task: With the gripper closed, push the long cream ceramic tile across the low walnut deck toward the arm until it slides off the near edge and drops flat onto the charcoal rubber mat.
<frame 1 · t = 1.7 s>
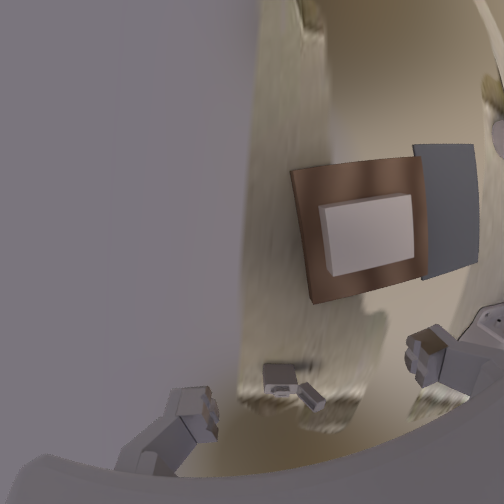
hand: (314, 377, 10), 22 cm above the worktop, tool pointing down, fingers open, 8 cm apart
tile: (365, 229, 28), point 2 cm above the worktop, touching deck
foam cup: (501, 139, 27), on the worktop
deck: (365, 225, 30), on the worktop
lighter: (288, 368, 36), on the worktop
mat: (452, 209, 30), on the worktop
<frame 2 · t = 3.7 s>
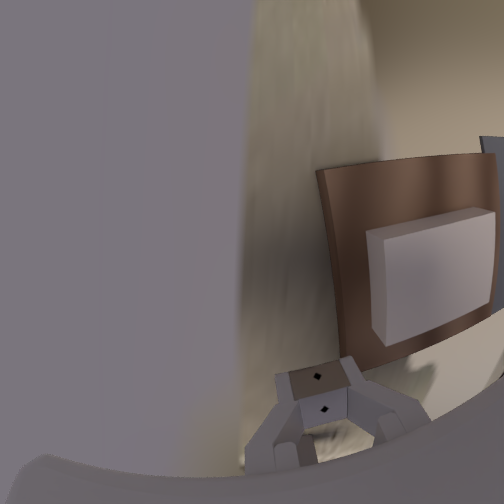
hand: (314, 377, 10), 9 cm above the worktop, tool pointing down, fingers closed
tile: (429, 265, 16), point 2 cm above the worktop, touching deck
deck: (425, 254, 18), on the worktop
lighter: (305, 438, 24), on the worktop
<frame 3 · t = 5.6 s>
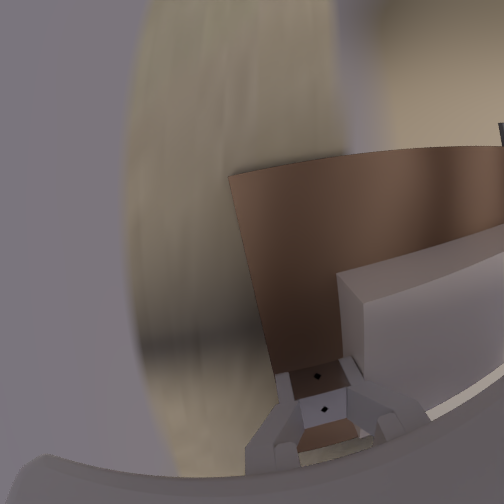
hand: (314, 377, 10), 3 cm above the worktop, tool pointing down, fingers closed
tile: (437, 315, 10), point 2 cm above the worktop, touching deck, gripper
deck: (417, 299, 12), on the worktop
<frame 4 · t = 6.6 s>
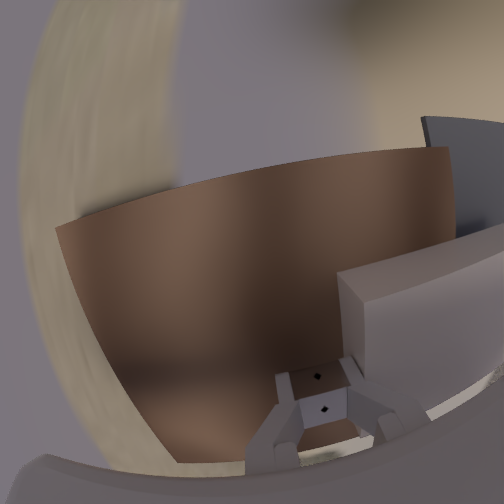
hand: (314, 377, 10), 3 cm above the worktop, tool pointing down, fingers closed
tile: (438, 314, 10), point 2 cm above the worktop, touching deck
deck: (285, 335, 12), on the worktop
mat: (496, 266, 12), on the worktop
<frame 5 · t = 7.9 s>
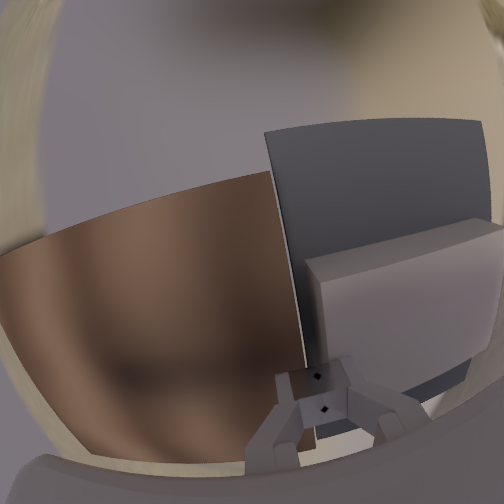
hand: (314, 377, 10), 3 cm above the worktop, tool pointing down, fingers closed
tile: (408, 302, 12), resting on mat
deck: (142, 359, 13), on the worktop
mat: (412, 301, 12), on the worktop
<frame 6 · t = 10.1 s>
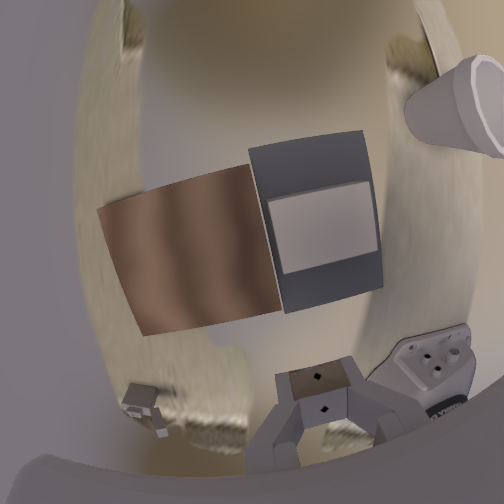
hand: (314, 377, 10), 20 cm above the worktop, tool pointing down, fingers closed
tile: (320, 222, 27), resting on mat
foam cup: (423, 118, 25), on the worktop
deck: (190, 254, 28), on the worktop
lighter: (153, 389, 34), on the worktop
mat: (325, 223, 28), on the worktop
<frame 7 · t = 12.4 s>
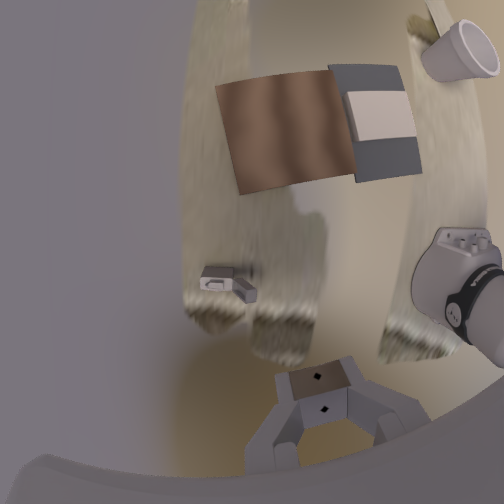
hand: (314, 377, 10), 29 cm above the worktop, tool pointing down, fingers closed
tile: (377, 116, 33), resting on mat
foam cup: (434, 66, 31), on the worktop
deck: (286, 128, 34), on the worktop
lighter: (229, 272, 39), on the worktop
mat: (379, 118, 34), on the worktop
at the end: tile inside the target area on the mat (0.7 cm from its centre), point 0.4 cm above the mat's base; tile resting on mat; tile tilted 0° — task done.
